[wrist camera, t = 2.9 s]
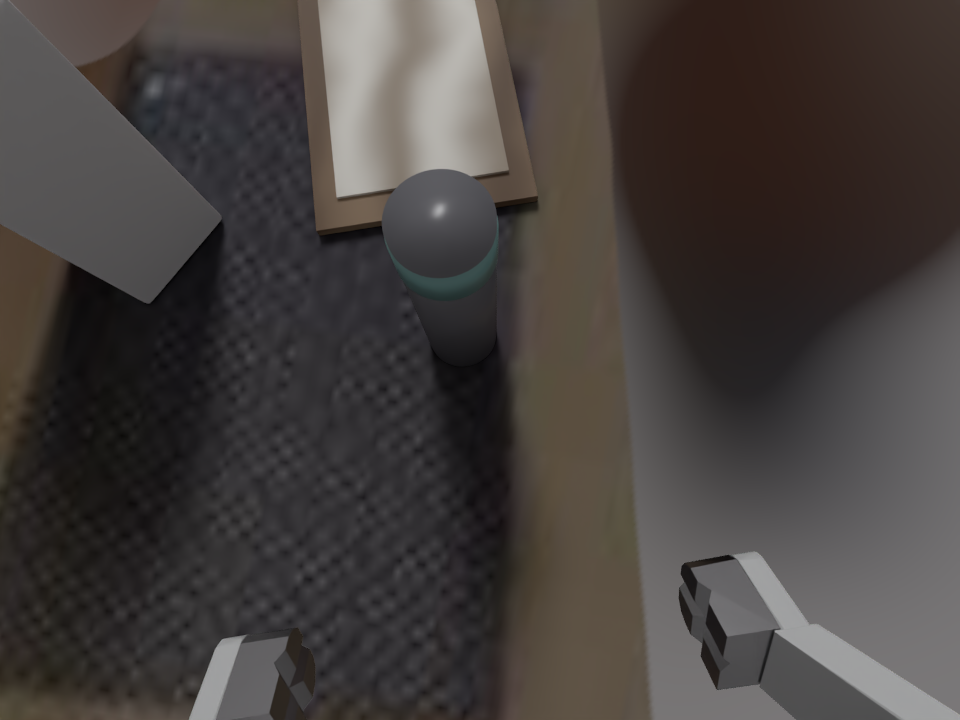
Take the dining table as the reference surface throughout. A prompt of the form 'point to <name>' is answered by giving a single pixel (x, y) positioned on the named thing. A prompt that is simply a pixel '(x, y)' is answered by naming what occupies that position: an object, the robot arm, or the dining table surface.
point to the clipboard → (407, 103)
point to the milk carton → (87, 172)
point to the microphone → (447, 260)
